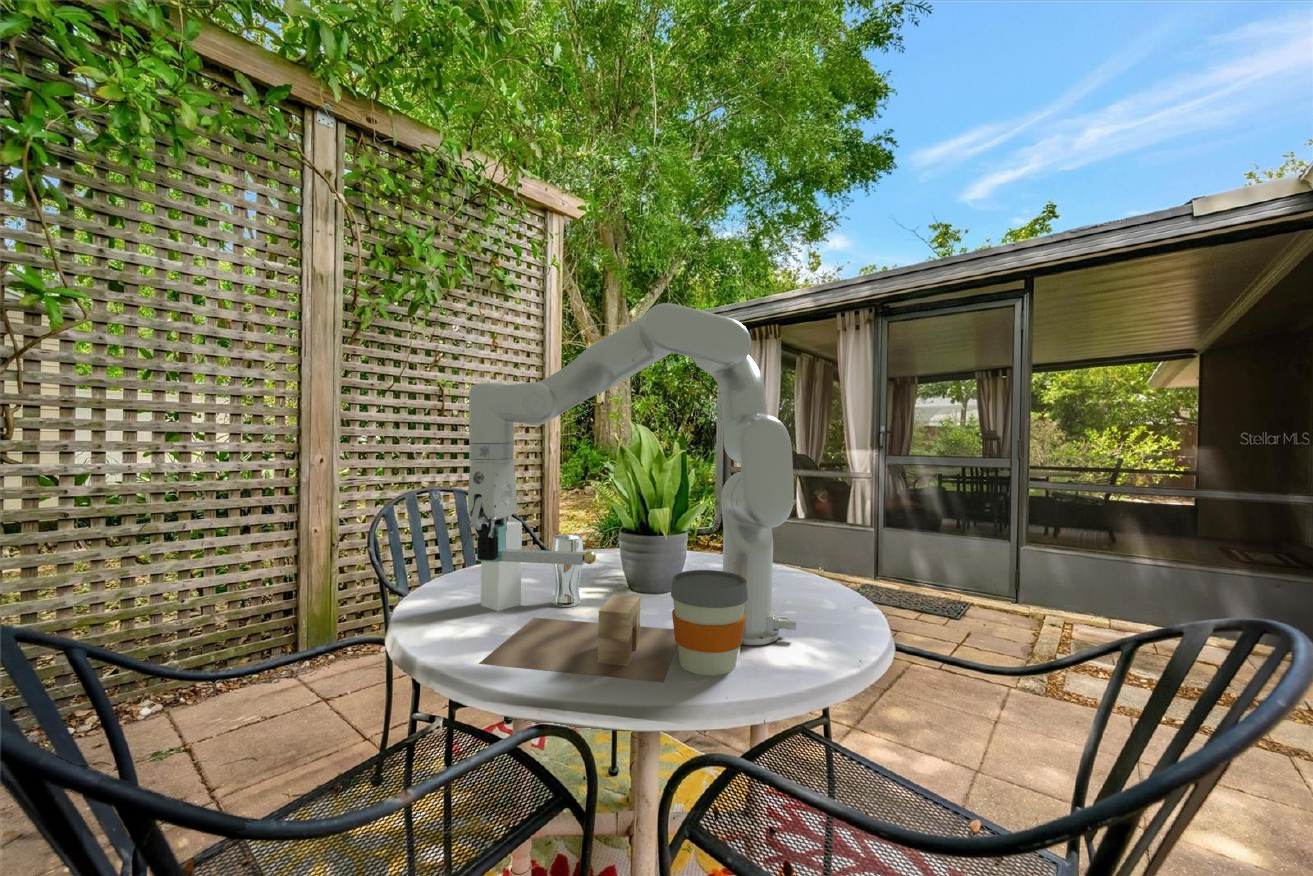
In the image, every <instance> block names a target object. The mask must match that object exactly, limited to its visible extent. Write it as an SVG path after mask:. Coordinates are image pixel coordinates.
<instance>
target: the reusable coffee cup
mask: <svg viewBox="0 0 1313 876" xmlns="http://www.w3.org/2000/svg"><path fill="white" fill-rule="evenodd" d="M670 597H671V598H672V600H673V602H672V603H673V609H672V612H671V614H672V624H673V629H674V636H675V641H676V643H677V649H678V658H679V659H678V660H679V664H680V666H681V667H682V669H684V670H686V671H688V672H690V673H693V674H697V675H702V676H721V675H725V674H730V673H731V672H733V671H734V670H735V669H736V667H737V659H738V652H739V648H740V647H741V646H742V638H743V631H744V624H745V618H746V615H745V613H744V607H745V602H746V601H747V600H748V594H747V583H746V579H745V578H743V577H742V576H739V575H737V574H733V573H729V572H724V571H723V570H713V569H712V570H711V569H696V570H695V569H694V570H686V571H682V572H678V573H676V574H674V575H673V577H672V584H671V591H670Z"/></svg>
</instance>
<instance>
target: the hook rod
mask: <svg viewBox="0 0 1313 876" xmlns="http://www.w3.org/2000/svg"><path fill="white" fill-rule="evenodd" d="M488 525H489V524H487V526H488ZM493 537H496V559H495V560H479V559H478V537H477V536H476V538H477V539H476V540H477V541H476V555H477V556H476V557H477V558H476V561H477V562H482V561H485V562H500V561H505V562H521V563H531V564H551V565H552V564H571V565H582V566H583V565H585V564H587V565H592V564H594V563H595V562H596V560H597V555H596V553H595V552H594V551H592V550H587V551H583V552H569V551H552V550H541V549H522V550H520V549H506V525H497V524H494V536H493Z"/></svg>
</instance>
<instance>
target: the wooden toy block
mask: <svg viewBox="0 0 1313 876" xmlns="http://www.w3.org/2000/svg"><path fill="white" fill-rule="evenodd" d="M598 623H599V624H598V663H603V664H613V665H624V666H628V665H629V663H630V661H631V659H632V650H637V648H638V646H639V643H640V626H641V596H636V595H625V594H624V595H622V594H612V595H611V596H610V598H608V600H607V601H606V602H605V603H604V604H603V605H602V606H601V608H600V609H599V610H598Z"/></svg>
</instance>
